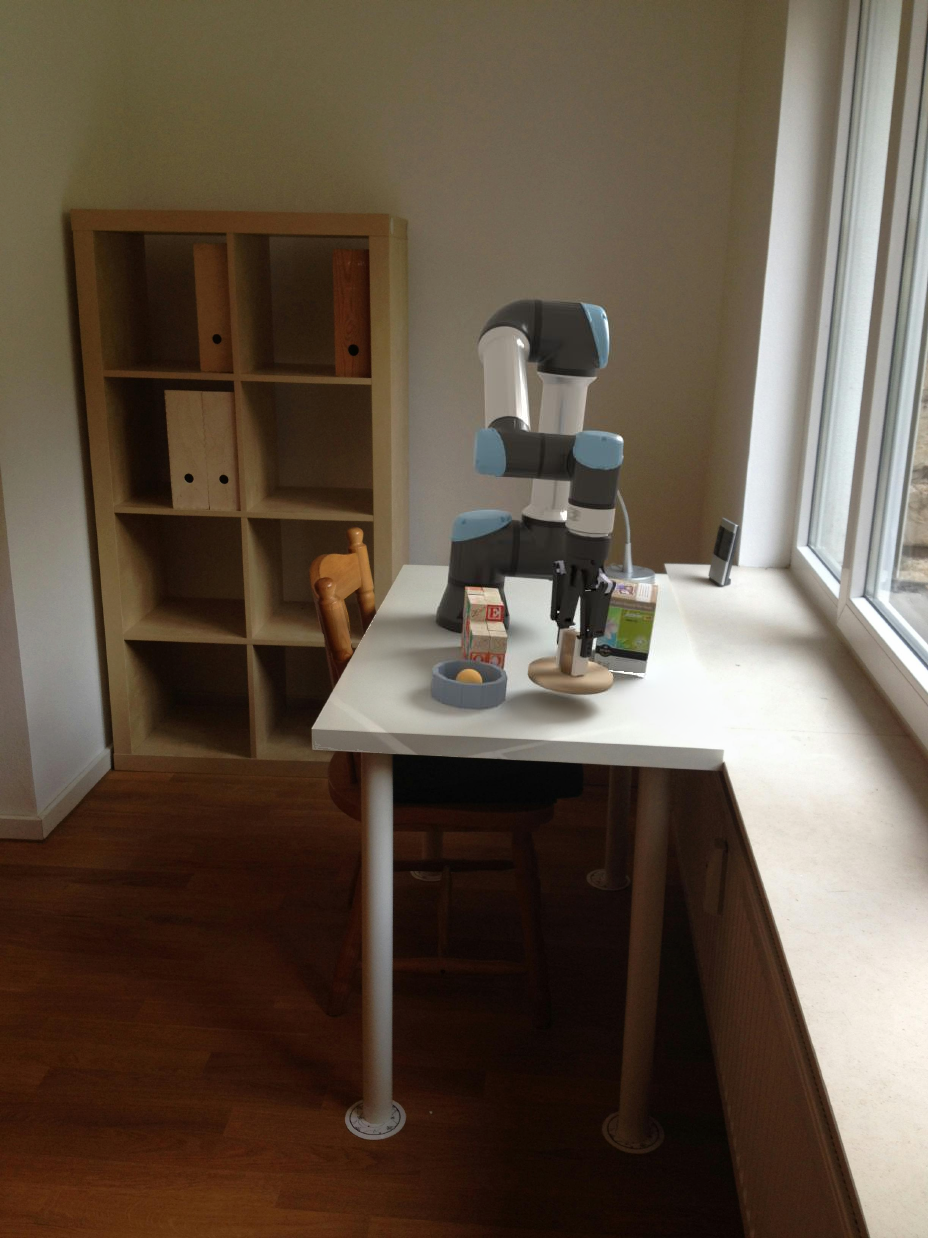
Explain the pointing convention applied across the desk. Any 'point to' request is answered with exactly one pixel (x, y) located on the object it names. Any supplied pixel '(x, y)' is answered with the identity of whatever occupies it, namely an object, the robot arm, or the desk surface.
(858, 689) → the desk surface
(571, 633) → the lid
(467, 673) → the clementine
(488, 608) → the stack of blocks
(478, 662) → the bowl
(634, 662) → the tea box
